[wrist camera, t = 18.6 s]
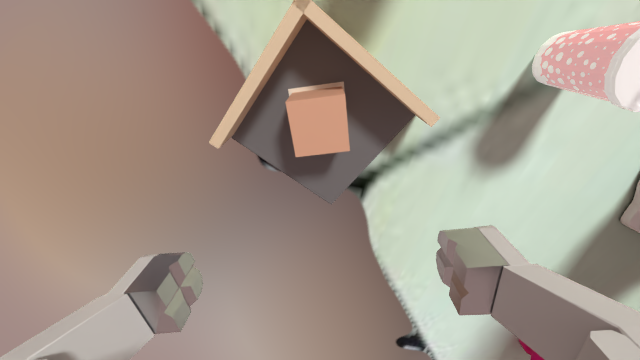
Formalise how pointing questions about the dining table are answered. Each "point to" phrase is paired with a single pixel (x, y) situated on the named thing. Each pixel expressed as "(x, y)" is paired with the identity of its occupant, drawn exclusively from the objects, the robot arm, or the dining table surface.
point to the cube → (318, 121)
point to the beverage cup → (594, 63)
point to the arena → (310, 74)
